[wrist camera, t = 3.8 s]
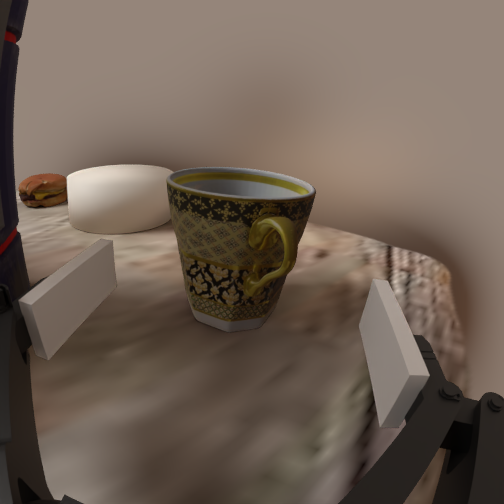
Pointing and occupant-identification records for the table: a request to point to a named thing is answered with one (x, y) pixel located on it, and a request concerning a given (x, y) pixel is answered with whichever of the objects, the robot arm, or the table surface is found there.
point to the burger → (43, 190)
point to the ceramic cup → (236, 240)
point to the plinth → (118, 198)
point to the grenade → (10, 150)
